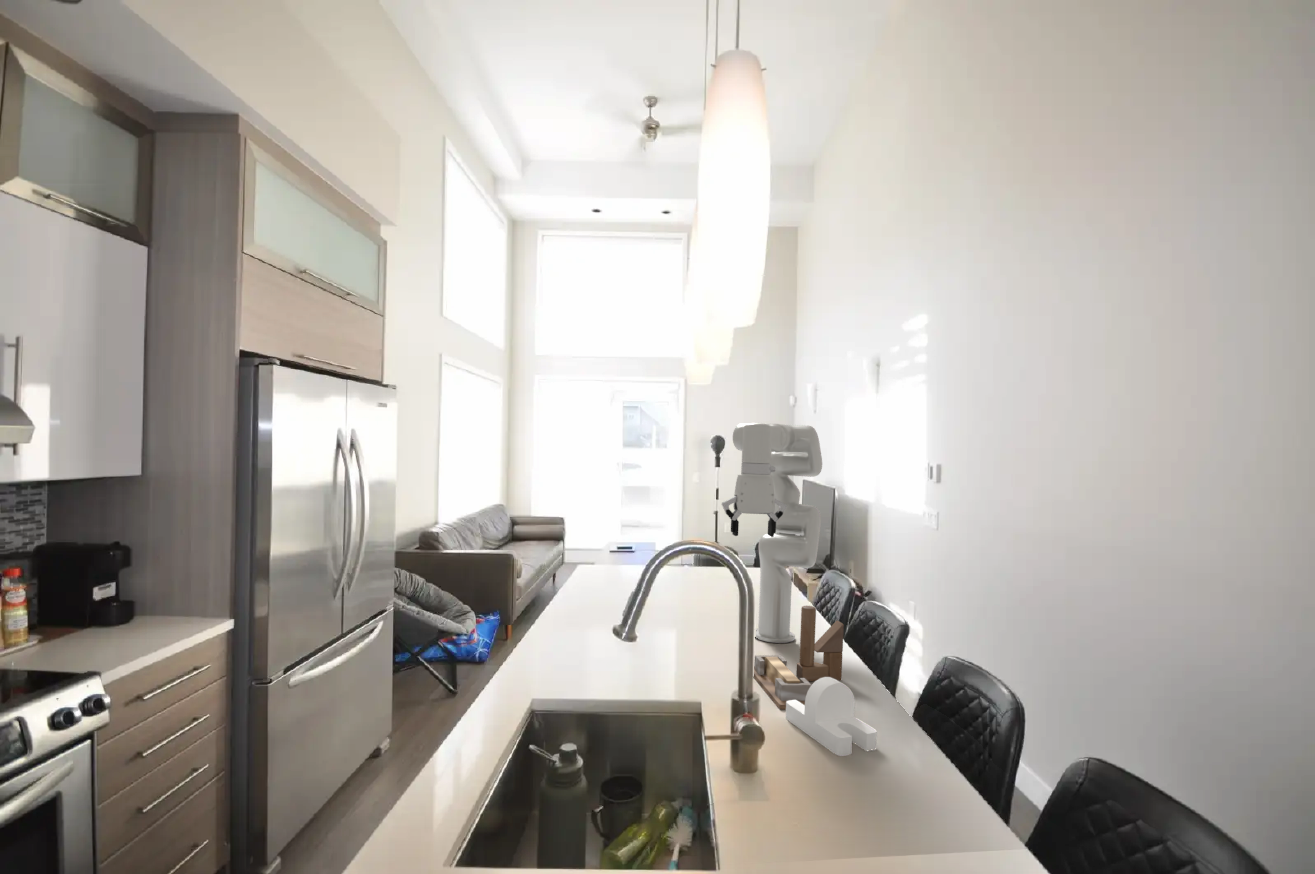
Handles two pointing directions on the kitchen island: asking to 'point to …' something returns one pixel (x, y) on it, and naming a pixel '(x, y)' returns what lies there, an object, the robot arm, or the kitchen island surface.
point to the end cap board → (779, 684)
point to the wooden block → (819, 648)
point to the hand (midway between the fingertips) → (753, 535)
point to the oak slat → (778, 671)
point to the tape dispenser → (831, 717)
